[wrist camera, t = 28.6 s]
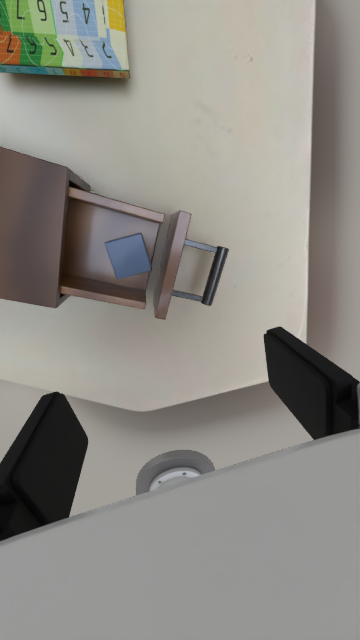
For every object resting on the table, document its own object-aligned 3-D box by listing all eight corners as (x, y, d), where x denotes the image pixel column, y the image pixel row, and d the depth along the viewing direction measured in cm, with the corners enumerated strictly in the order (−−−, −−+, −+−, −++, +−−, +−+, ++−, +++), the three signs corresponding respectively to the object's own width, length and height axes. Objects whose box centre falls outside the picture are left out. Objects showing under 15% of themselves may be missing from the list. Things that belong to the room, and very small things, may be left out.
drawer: (222, 229, 30) (243, 229, 24) (199, 310, 34) (211, 328, 28) (66, 183, 26) (41, 168, 20) (58, 281, 30) (35, 295, 23)
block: (150, 265, 29) (152, 270, 26) (120, 273, 29) (117, 279, 26) (141, 232, 28) (141, 233, 24) (109, 241, 28) (104, 242, 24)
